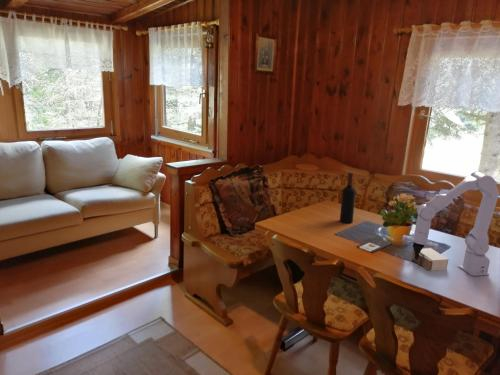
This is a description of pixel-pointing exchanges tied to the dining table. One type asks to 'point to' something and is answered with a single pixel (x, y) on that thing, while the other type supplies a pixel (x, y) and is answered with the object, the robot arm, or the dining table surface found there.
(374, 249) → the chocolate bar
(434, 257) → the cabinet
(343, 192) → the wine bottle
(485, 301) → the dining table surface
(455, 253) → the dining table surface
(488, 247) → the robot arm
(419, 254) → the door
